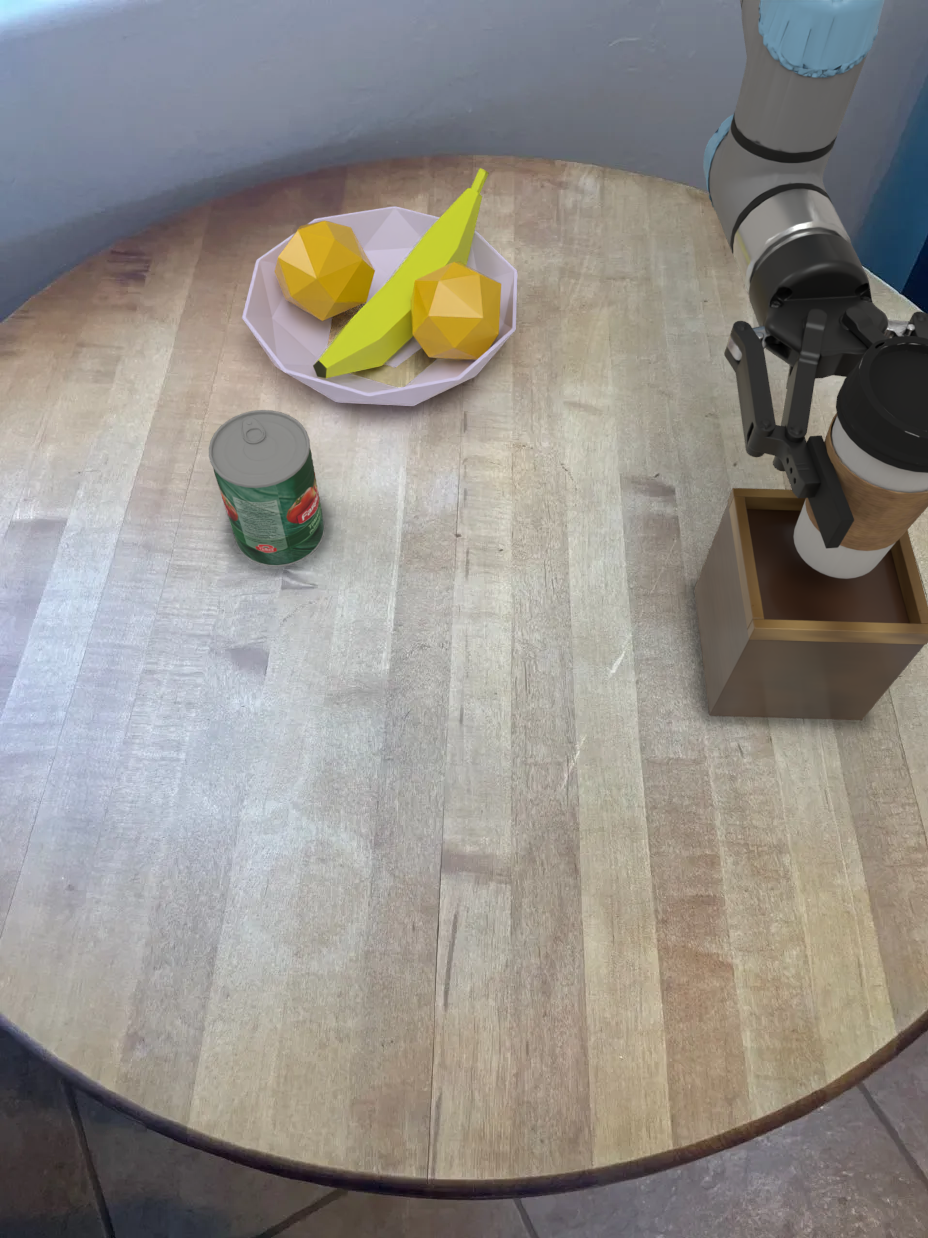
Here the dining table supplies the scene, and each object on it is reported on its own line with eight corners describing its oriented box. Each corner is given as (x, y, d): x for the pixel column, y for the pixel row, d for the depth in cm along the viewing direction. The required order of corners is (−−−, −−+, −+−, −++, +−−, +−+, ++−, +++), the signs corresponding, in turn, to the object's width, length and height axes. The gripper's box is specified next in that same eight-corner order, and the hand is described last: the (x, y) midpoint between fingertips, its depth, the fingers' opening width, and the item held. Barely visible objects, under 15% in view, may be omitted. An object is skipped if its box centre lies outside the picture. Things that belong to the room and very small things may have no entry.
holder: (834, 593, 82) (897, 492, 70) (862, 722, 75) (936, 633, 64) (692, 589, 82) (732, 487, 70) (708, 717, 76) (754, 628, 64)
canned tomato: (337, 551, 84) (323, 467, 74) (249, 579, 82) (223, 497, 72) (309, 485, 87) (292, 398, 78) (224, 511, 86) (197, 425, 76)
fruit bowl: (340, 480, 88) (327, 390, 78) (211, 309, 99) (186, 213, 90) (585, 363, 96) (600, 269, 86) (440, 218, 108) (439, 121, 98)
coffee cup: (834, 477, 69) (921, 310, 56) (925, 556, 65) (1040, 398, 53) (748, 530, 66) (819, 368, 54) (839, 616, 63) (938, 464, 50)
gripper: (916, 308, 72) (1041, 554, 60) (649, 323, 71) (722, 578, 59) (962, 220, 66) (1111, 477, 54) (669, 235, 65) (756, 500, 53)
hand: (908, 529), depth 57 cm, fingers closed on coffee cup, 8 cm apart
